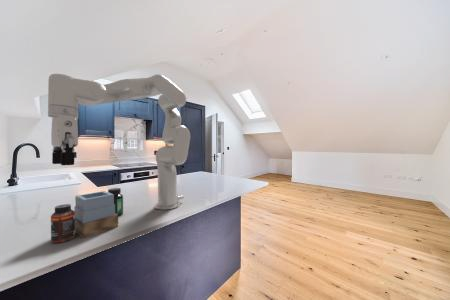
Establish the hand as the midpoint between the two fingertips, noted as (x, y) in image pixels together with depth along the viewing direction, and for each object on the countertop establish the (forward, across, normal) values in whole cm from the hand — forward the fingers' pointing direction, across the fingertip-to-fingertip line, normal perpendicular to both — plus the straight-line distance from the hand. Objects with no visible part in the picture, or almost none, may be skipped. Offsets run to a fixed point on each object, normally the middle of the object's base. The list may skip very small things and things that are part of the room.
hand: (62, 164), depth 59 cm
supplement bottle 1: (+25, 0, 0) cm, 25 cm away
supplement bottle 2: (+25, +9, -20) cm, 33 cm away
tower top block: (+20, +1, -10) cm, 23 cm away
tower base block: (+25, +1, -10) cm, 27 cm away
